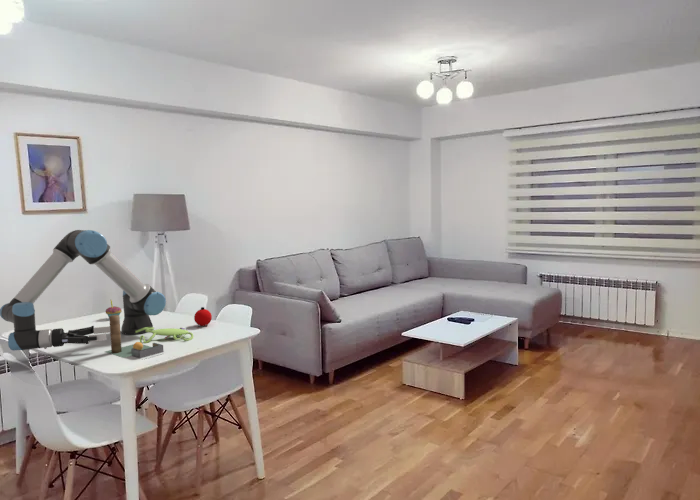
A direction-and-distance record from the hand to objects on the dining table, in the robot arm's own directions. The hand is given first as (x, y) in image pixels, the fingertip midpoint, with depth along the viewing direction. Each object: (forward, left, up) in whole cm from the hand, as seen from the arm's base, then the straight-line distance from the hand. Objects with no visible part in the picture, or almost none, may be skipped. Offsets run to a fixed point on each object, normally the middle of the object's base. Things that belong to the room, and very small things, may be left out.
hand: (108, 332), depth 219 cm
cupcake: (-68, +40, -10) cm, 79 cm away
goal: (+15, +9, -10) cm, 20 cm away
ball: (+8, +9, -7) cm, 14 cm away
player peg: (+1, +3, -9) cm, 9 cm away
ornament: (-9, +57, -10) cm, 58 cm away
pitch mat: (+4, +8, -10) cm, 13 cm away
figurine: (-4, +29, -11) cm, 31 cm away
